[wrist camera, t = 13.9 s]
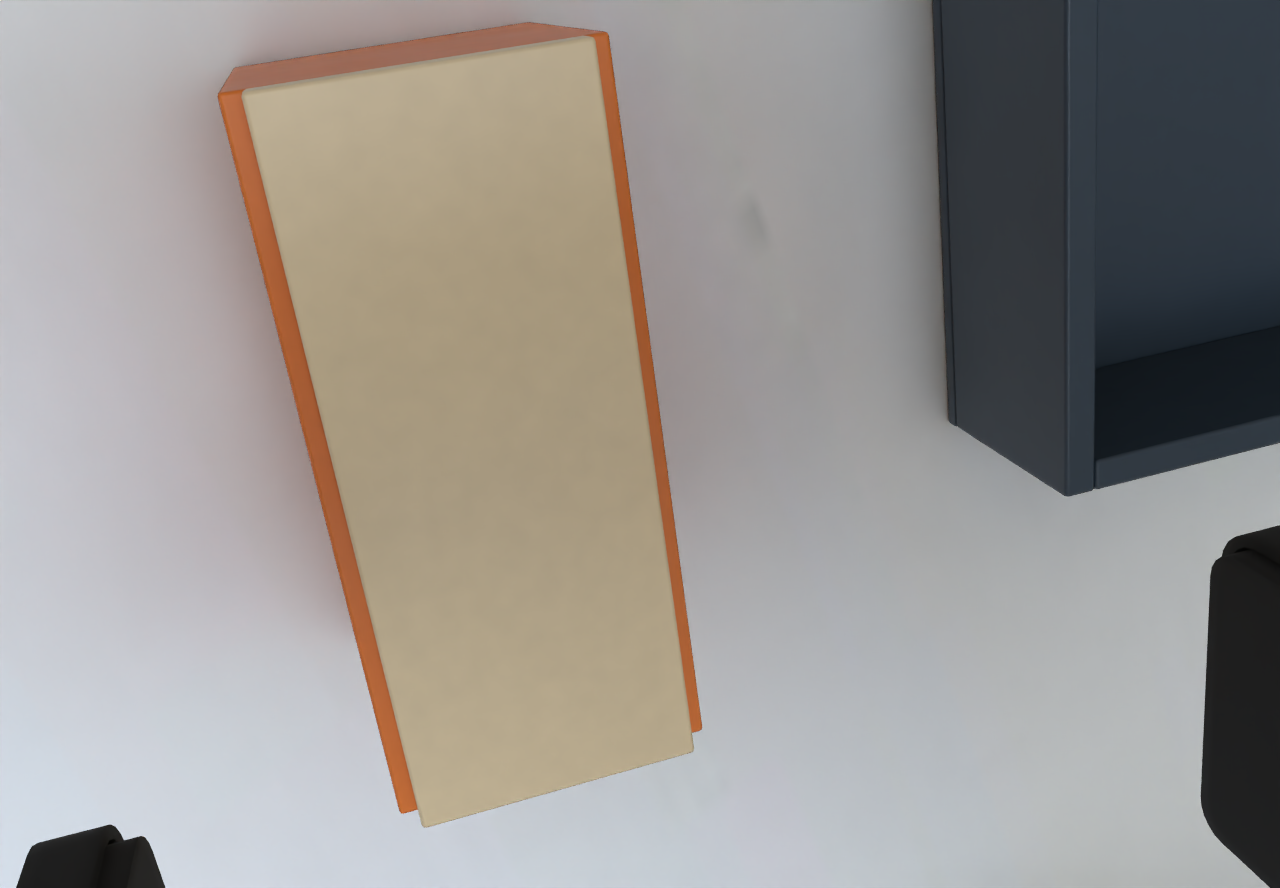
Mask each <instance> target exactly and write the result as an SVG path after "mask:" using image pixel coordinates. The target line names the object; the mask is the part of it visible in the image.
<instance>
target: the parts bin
mask: <svg viewBox="0 0 1280 888" xmlns="http://www.w3.org/2000/svg"><path fill="white" fill-rule="evenodd" d="M933 20H934V46H935V71H936V97H937V123H938V148H939V174H940V200H941V225H942V251H943V276H944V302H945V328H946V353H947V379H948V405H949V422H950V423H951V424H953V425H954V426H958V427H959V428H960V429H962V430H963V431H965V432H967V433H968V434H970V435H971V436H973V437H974V438H976V439H977V440H979V441H980V442H982V443H984V444H985V445H987V446H988V447H990V448H991V449H993V450H994V451H996V452H997V453H999V454H1001V455H1002V456H1004V457H1005V458H1007V459H1008V460H1010V461H1011V462H1013V463H1015V464H1016V465H1018V466H1019V467H1021V468H1022V469H1024V470H1025V471H1027V472H1028V473H1030V474H1032V475H1033V476H1035V477H1036V478H1038V479H1039V480H1041V481H1042V482H1044V483H1045V484H1047V485H1049V486H1050V487H1052V488H1053V489H1055V490H1056V491H1058V492H1059V493H1061V494H1062V495H1064V496H1073V495H1077V494H1081V493H1085V492H1088V491H1092V490H1093V489H1100V488H1104V487H1108V486H1112V485H1116V484H1120V483H1124V482H1128V481H1132V480H1136V479H1139V478H1143V477H1147V476H1151V475H1155V474H1159V473H1163V472H1167V471H1171V470H1175V469H1179V468H1183V467H1187V466H1191V465H1194V464H1198V463H1202V462H1206V461H1210V460H1214V459H1218V458H1222V457H1226V456H1230V455H1234V454H1238V453H1242V452H1246V451H1249V450H1253V449H1257V448H1261V447H1265V446H1269V445H1273V444H1277V443H1280V0H933Z"/></svg>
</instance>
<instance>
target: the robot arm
mask: <svg viewBox="0 0 1280 888" xmlns="http://www.w3.org/2000/svg"><path fill="white" fill-rule="evenodd" d="M1201 805H1202V809H1203V813H1204V816H1205V818H1206V820H1207V823H1208V825H1209V827H1210V828H1211V830H1212V831H1213V833H1214V835H1215V836H1216V837H1217V838H1218V839H1219V840H1220V841H1221V842H1222V843H1223V844H1224V845H1225V846H1226V847H1227V848H1228V849H1229V850H1230V851H1231V852H1232V853H1233V854H1235V855H1236V856H1237V857H1238V858H1239V859H1240V860H1241V861H1242V862H1243V863H1244V864H1245V865H1246V866H1247V867H1249V868H1250V869H1251V870H1252V871H1253V872H1254V873H1255V874H1256V875H1257V876H1258V877H1259V878H1260V879H1261V880H1263V881H1264V882H1265V883H1266V884H1267V885H1268V886H1269V887H1270V888H1280V525H1279V526H1275V527H1271V528H1267V529H1264V530H1260V531H1256V532H1252V533H1248V534H1244V535H1240V536H1236V537H1234V538H1233V539H1231V540H1230V541H1228V543H1227V545H1226V546H1225V548H1224V550H1223V554H1222V557H1220V558H1219V559H1217V560H1216V561H1215V563H1214V564H1213V566H1212V570H1211V576H1210V598H1209V621H1208V644H1207V667H1206V690H1205V713H1204V736H1203V759H1202V782H1201ZM16 888H165V885H164V882H163V880H162V877H161V874H160V871H159V868H158V865H157V862H156V860H155V857H154V854H153V851H152V849H151V847H150V844H149V842H148V841H147V840H146V838H145V837H142V836H140V837H136V838H132V839H128V840H123V838H122V835H121V834H120V832H119V831H118V830H117V828H116V827H115V826H112V825H106V826H102V827H98V828H95V829H91V830H87V831H83V832H79V833H75V834H71V835H67V836H63V837H59V838H55V839H52V840H48V841H44V842H40V843H37V844H35V845H34V846H32V847H31V849H30V851H29V853H28V855H27V857H26V860H25V863H24V866H23V869H22V872H21V875H20V878H19V881H18V884H17V887H16Z"/></svg>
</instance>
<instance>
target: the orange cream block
mask: <svg viewBox="0 0 1280 888" xmlns="http://www.w3.org/2000/svg"><path fill="white" fill-rule="evenodd" d="M218 101H219V105H220V109H221V113H222V117H223V120H224V124H225V128H226V132H227V136H228V140H229V144H230V148H231V152H232V156H233V160H234V164H235V168H236V171H237V175H238V179H239V183H240V187H241V191H242V195H243V199H244V203H245V207H246V211H247V215H248V219H249V222H250V226H251V230H252V234H253V238H254V242H255V246H256V250H257V254H258V258H259V262H260V266H261V270H262V274H263V277H264V281H265V285H266V289H267V293H268V297H269V301H270V305H271V309H272V313H273V317H274V321H275V325H276V328H277V332H278V336H279V340H280V344H281V348H282V352H283V356H284V360H285V364H286V368H287V372H288V376H289V379H290V383H291V387H292V391H293V395H294V399H295V403H296V407H297V411H298V415H299V419H300V423H301V427H302V431H303V434H304V438H305V442H306V446H307V450H308V454H309V458H310V462H311V466H312V470H313V474H314V478H315V482H316V485H317V489H318V493H319V497H320V501H321V505H322V509H323V513H324V517H325V521H326V525H327V529H328V533H329V536H330V540H331V544H332V548H333V552H334V556H335V560H336V564H337V568H338V572H339V576H340V580H341V584H342V588H343V591H344V595H345V599H346V603H347V607H348V611H349V615H350V619H351V623H352V627H353V631H354V635H355V639H356V642H357V646H358V650H359V654H360V658H361V662H362V666H363V670H364V674H365V678H366V682H367V686H368V690H369V693H370V697H371V701H372V705H373V709H374V713H375V717H376V721H377V725H378V729H379V733H380V737H381V741H382V745H383V748H384V752H385V756H386V760H387V764H388V768H389V772H390V776H391V780H392V784H393V788H394V792H395V796H396V799H397V803H398V807H399V811H400V812H401V813H407V812H411V811H414V810H418V812H419V816H420V820H421V824H422V826H423V827H430V826H434V825H437V824H441V823H444V822H448V821H451V820H455V819H458V818H462V817H465V816H469V815H472V814H476V813H479V812H483V811H487V810H490V809H494V808H497V807H501V806H504V805H508V804H511V803H515V802H518V801H522V800H525V799H529V798H532V797H536V796H539V795H543V794H547V793H550V792H554V791H557V790H561V789H564V788H568V787H571V786H575V785H578V784H582V783H585V782H589V781H592V780H596V779H599V778H603V777H607V776H610V775H614V774H617V773H621V772H624V771H628V770H631V769H635V768H638V767H642V766H645V765H649V764H652V763H656V762H659V761H663V760H667V759H670V758H674V757H677V756H681V755H684V754H688V753H691V752H693V750H694V745H693V738H692V733H693V732H696V731H700V730H701V729H702V722H701V715H700V707H699V700H698V693H697V685H696V678H695V670H694V663H693V656H692V648H691V641H690V633H689V626H688V619H687V611H686V604H685V596H684V589H683V582H682V574H681V567H680V559H679V552H678V545H677V537H676V530H675V522H674V515H673V508H672V500H671V493H670V485H669V478H668V471H667V463H666V456H665V448H664V441H663V434H662V426H661V419H660V411H659V404H658V397H657V389H656V382H655V374H654V367H653V360H652V352H651V345H650V337H649V330H648V323H647V315H646V308H645V300H644V293H643V286H642V278H641V271H640V263H639V256H638V249H637V241H636V234H635V226H634V219H633V212H632V204H631V197H630V189H629V182H628V175H627V167H626V160H625V152H624V145H623V138H622V130H621V123H620V115H619V108H618V101H617V93H616V86H615V78H614V71H613V64H612V56H611V49H610V41H609V35H608V33H607V32H603V31H595V30H587V29H579V28H571V27H563V26H555V25H547V24H539V23H531V22H527V23H521V24H514V25H508V26H501V27H495V28H488V29H482V30H475V31H469V32H462V33H456V34H449V35H443V36H436V37H430V38H423V39H417V40H410V41H404V42H397V43H391V44H384V45H378V46H371V47H365V48H358V49H352V50H345V51H339V52H332V53H326V54H319V55H313V56H306V57H300V58H294V59H287V60H281V61H274V62H268V63H261V64H255V65H248V66H242V67H236V68H234V69H233V70H232V72H231V74H230V75H229V77H228V79H227V80H226V82H225V84H224V85H223V87H222V88H221V90H220V92H219V93H218Z"/></svg>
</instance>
